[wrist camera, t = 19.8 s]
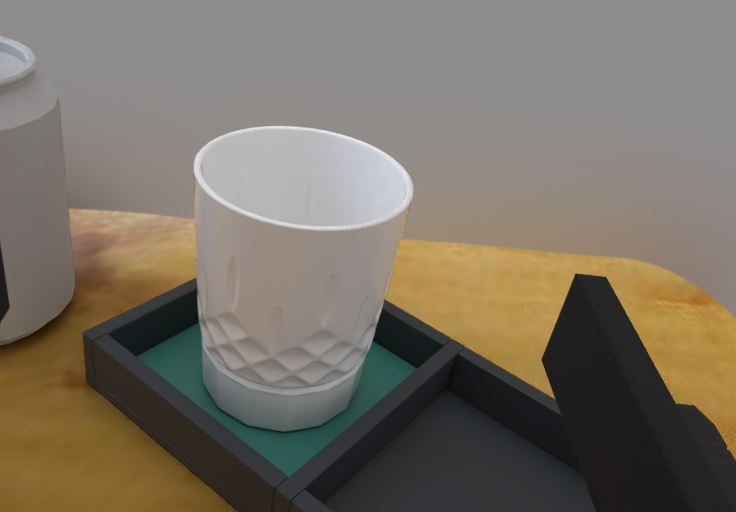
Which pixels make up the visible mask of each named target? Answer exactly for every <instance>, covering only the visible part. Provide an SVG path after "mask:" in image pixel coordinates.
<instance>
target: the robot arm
mask: <svg viewBox="0 0 736 512" xmlns="http://www.w3.org/2000/svg"><path fill="white" fill-rule="evenodd" d="M9 308H10V304H9V298H8V291H7V284H6V277H5V271H4V264H3V257H2V250H1V244H0V323H1V321H2V320H3V318H4V316H5V315H6V313H7V312H8V310H9ZM542 363H543V365H544V368H545V371H546V374H547V377H548V379H549V382H550V385H551V388H552V391H553V393H554V396H555V399H556V402H557V405H558V407H559V410H560V413H561V416H562V418H563V421H564V424H565V427H566V430H567V432H568V435H569V438H570V441H571V444H572V446H573V449H574V452H575V455H576V457H577V460H578V463H579V466H580V469H581V471H582V474H583V477H584V480H585V483H586V485H587V488H588V491H589V494H590V497H591V499H592V502H593V505H594V508H595V510H596V512H736V460H735V459H734V457H733V455H732V454H731V452H730V451H729V450H727V445H726V444H725V442H724V440H723V439H722V437H721V435H720V433H719V432H718V430H717V428H716V427H715V425H714V424H713V423H712V422H711V421H710V420H709V419H708V418H707V417H706V416H705V415H704V414H703V413H702V412H700V411H699V410H698V409H697V408H696V407H695V406H694V405H685V404H676V403H675V401H674V400H673V398H672V396H671V394H670V392H669V391H668V389H667V387H666V385H665V383H664V381H663V380H662V378H661V376H660V374H659V372H658V370H657V369H656V367H655V365H654V363H653V361H652V360H651V358H650V356H649V354H648V352H647V350H646V349H645V347H644V345H643V343H642V341H641V340H640V338H639V336H638V334H637V332H636V330H635V329H634V327H633V325H632V323H631V321H630V320H629V318H628V316H627V314H626V312H625V310H624V309H623V307H622V305H621V303H620V301H619V300H618V298H617V296H616V294H615V292H614V290H613V289H612V287H611V285H610V283H609V281H608V279H607V278H606V277H601V276H592V275H584V274H575V277H574V279H573V282H572V284H571V287H570V289H569V292H568V294H567V297H566V299H565V302H564V304H563V307H562V309H561V312H560V314H559V317H558V319H557V322H556V324H555V327H554V330H553V332H552V335H551V337H550V340H549V342H548V345H547V347H546V350H545V352H544V355H543V357H542Z"/></svg>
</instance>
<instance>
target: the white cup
mask: <svg viewBox="0 0 736 512" xmlns="http://www.w3.org/2000/svg"><path fill="white" fill-rule="evenodd" d="M193 169H194V207H195V262H196V279H197V303H198V316H199V320H198V322H199V324H200V328H201V333H202V378H203V384H204V386H205V387H206V389H207V391H208V392H209V394H210V395H211V397H212V399H213V400H214V402H215V404H216V405H217V407H218V408H219V409H221V410H223V411H224V412H226V413H227V414H229V415H231V416H232V417H234V418H236V419H237V420H239V421H241V422H242V423H244V424H246V425H248V426H253V427H259V428H264V429H270V430H276V431H281V432H287V431H293V430H299V429H305V428H311V427H317V426H321V425H322V424H324V423H325V422H327V421H328V420H330V419H332V418H333V417H335V416H336V415H338V414H339V413H341V412H342V411H344V410H345V409H347V407H348V405H349V403H350V401H351V399H352V397H353V395H354V393H355V391H356V389H357V387H358V385H359V381H360V377H361V373H362V369H363V366H364V362H365V358H366V354H367V353H368V352H369V349H370V347H371V344H372V341H373V337H374V334H375V330H376V327H377V323H378V320H379V317H380V313H381V310H382V307H383V303H384V300H385V297H386V294H387V291H388V287H389V284H390V280H391V276H392V272H393V268H394V265H395V261H396V257H397V253H398V250H399V246H400V242H401V238H402V234H403V230H404V227H405V223H406V219H407V216H408V212H409V209H410V205H411V201H412V198H413V192H414V190H413V183H412V180H411V178H410V176H409V174H408V173H407V171H406V170H405V169H404V168H403V167H402V166H401V165H400V164H399V163H398V162H397V161H396V160H394V159H393V158H392V157H391V156H389V155H388V154H386V153H385V152H383V151H381V150H379V149H378V148H375V147H374V146H371V145H369V144H367V143H365V142H362V141H360V140H357V139H354V138H351V137H348V136H345V135H342V134H338V133H333V132H329V131H325V130H319V129H313V128H305V127H294V126H266V127H255V128H248V129H242V130H238V131H234V132H231V133H228V134H225V135H222V136H220V137H218V138H216V139H214V140H212V141H210V142H209V143H208V144H206V145H205V146H204V147H203V148H202V149H201V150H200V151H199V152H198V154H197V156H196V158H195V161H194V168H193Z"/></svg>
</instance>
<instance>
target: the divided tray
mask: <svg viewBox="0 0 736 512" xmlns="http://www.w3.org/2000/svg"><path fill="white" fill-rule="evenodd" d="M198 320H199V316H198V303H197V279H196V278H195V279H192V280H190V281H188V282H186V283H184V284H182V285H180V286H178V287H176V288H174V289H172V290H170V291H168V292H166V293H163V294H161V295H159V296H157V297H155V298H153V299H151V300H149V301H147V302H145V303H143V304H141V305H139V306H137V307H134V308H132V309H130V310H128V311H126V312H124V313H122V314H120V315H118V316H116V317H114V318H112V319H110V320H108V321H105V322H103V323H101V324H99V325H97V326H95V327H93V328H91V329H89V330H87V331H85V332H83V344H84V356H85V368H86V381H87V382H88V383H89V384H90V385H91V386H93V387H94V388H95V389H96V390H97V391H99V392H100V393H101V394H102V395H103V396H104V397H106V398H107V399H108V400H109V401H110V402H111V403H113V404H114V405H115V406H116V407H117V408H118V409H120V410H121V411H122V412H123V413H124V414H125V415H127V416H128V417H129V418H130V419H131V420H132V421H134V422H135V423H136V424H137V425H138V426H140V427H141V428H142V429H143V430H144V431H145V432H147V433H148V434H149V435H150V436H151V437H152V438H154V439H155V440H156V441H157V442H158V443H159V444H161V445H162V446H163V447H164V448H165V449H166V450H168V451H169V452H170V453H171V454H172V455H173V456H175V457H176V458H177V459H178V460H179V461H180V462H182V463H183V464H184V465H185V466H186V467H188V468H189V469H190V470H191V471H192V472H193V473H195V474H196V475H197V476H198V477H199V478H200V479H202V480H203V481H204V482H205V483H206V484H207V485H209V486H210V487H211V488H212V489H213V490H214V491H216V492H217V493H218V494H219V495H220V496H221V497H223V498H224V499H225V500H226V501H227V502H229V503H230V504H231V505H232V506H233V507H234V508H236V509H237V510H238V511H239V512H596V510H595V508H594V505H593V502H592V499H591V497H590V494H589V491H588V488H587V485H586V483H585V480H584V477H583V474H582V471H581V469H580V466H579V463H578V460H577V457H576V455H575V452H574V449H573V446H572V444H571V441H570V438H569V435H568V432H567V430H566V427H565V424H564V421H563V418H562V416H561V413H560V410H559V407H558V405H557V402H556V400H555V399H554V398H552V397H550V396H548V395H547V394H545V393H543V392H542V391H540V390H538V389H537V388H535V387H533V386H531V385H530V384H528V383H526V382H525V381H523V380H521V379H519V378H518V377H516V376H514V375H513V374H511V373H509V372H508V371H506V370H504V369H502V368H501V367H499V366H497V365H496V364H494V363H492V362H490V361H489V360H487V359H485V358H484V357H482V356H480V355H479V354H477V353H475V352H473V351H472V350H470V349H468V348H466V347H465V346H464V345H462V344H460V343H459V342H457V341H455V340H453V339H452V340H451V338H450V337H448V336H446V335H445V334H443V333H441V332H439V331H438V330H436V329H434V328H433V327H431V326H429V325H427V324H426V323H424V322H422V321H421V320H419V319H417V318H416V317H414V316H412V315H410V314H409V313H407V312H405V311H404V310H402V309H400V308H398V307H397V306H395V305H393V304H392V303H390V302H388V301H387V300H384V303H383V307H382V310H381V313H380V317H379V320H378V323H377V327H376V330H375V334H374V337H373V341H372V344H371V347H370V349H369V352H368V353H367V354H366V358H365V362H364V366H363V369H362V373H361V377H360V381H359V385H358V387H357V389H356V391H355V393H354V395H353V397H352V399H351V401H350V403H349V405H348V407H347V409H345V410H344V411H342V412H341V413H339V414H338V415H336V416H335V417H333V418H332V419H330V420H328V421H327V422H325V423H324V424H322V425H321V426H317V427H311V428H305V429H299V430H293V431H287V432H281V431H276V430H270V429H264V428H259V427H253V426H248V425H246V424H244V423H242V422H241V421H239V420H237V419H236V418H234V417H232V416H231V415H229V414H227V413H226V412H224V411H223V410H221V409H219V408H218V407H217V405H216V404H215V402H214V400H213V399H212V397H211V395H210V394H209V392H208V391H207V389H206V387H205V386H204V384H203V378H202V333H201V328H200V324H199V322H198Z"/></svg>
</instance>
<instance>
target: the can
mask: <svg viewBox="0 0 736 512" xmlns="http://www.w3.org/2000/svg"><path fill="white" fill-rule="evenodd" d="M37 65H38V59H37V57H36V55H35V53H34V52H33V51H32V50H30V49H29V48H27V47H26V46H24V45H23V44H21V43H20V42H17V41H14V40H10V39H8V38H5V37H2V36H0V244H1V250H2V257H3V264H4V271H5V277H6V284H7V291H8V298H9V304H10V308H9V310H8V312H7V313H6V315H5V316H4V318H3V320H2V321H1V323H0V345H4V344H9V343H12V342H14V341H17V340H19V339H22V338H24V337H27V336H29V335H31V334H32V333H34V332H35V331H37V330H38V329H40V328H41V327H43V326H44V325H46V324H47V323H48V322H49V321H51V320H52V319H54V318H55V317H56V316H58V315H59V314H60V313H61V312H62V311H63V310H64V308H65V307H66V306H67V305H68V303H69V302H70V301H71V300H72V296H73V292H74V287H75V275H74V264H73V252H72V241H71V230H70V218H69V207H68V195H67V184H66V173H65V161H64V150H63V138H62V127H61V116H60V104H59V95H58V93H57V91H56V89H55V87H54V85H53V84H52V83H51V82H49V81H48V80H47V79H46V78H45V77H44V76H43V75H41V74H40V73H39V72H38V71H37V70H36V67H37Z"/></svg>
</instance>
